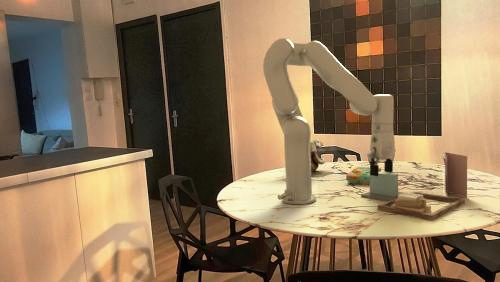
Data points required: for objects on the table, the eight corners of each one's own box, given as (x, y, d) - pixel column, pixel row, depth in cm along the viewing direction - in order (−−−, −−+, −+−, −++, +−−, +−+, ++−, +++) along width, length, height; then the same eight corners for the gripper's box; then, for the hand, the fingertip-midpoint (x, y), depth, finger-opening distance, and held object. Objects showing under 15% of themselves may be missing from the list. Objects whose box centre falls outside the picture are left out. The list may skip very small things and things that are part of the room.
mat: (390, 201, 146) (390, 199, 146) (361, 196, 155) (361, 194, 155) (407, 195, 154) (407, 193, 154) (378, 190, 163) (378, 188, 163)
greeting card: (442, 190, 157) (442, 152, 156) (464, 191, 155) (464, 152, 153) (444, 198, 147) (444, 157, 145) (467, 199, 144) (468, 157, 142)
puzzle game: (346, 173, 177) (355, 165, 195) (346, 184, 178) (355, 175, 196) (374, 174, 172) (381, 166, 190) (374, 185, 173) (381, 176, 191)
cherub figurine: (336, 172, 204) (335, 136, 202) (318, 179, 190) (316, 140, 188) (305, 169, 215) (304, 135, 213) (286, 175, 202) (284, 139, 200)
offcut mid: (420, 209, 129) (420, 203, 129) (395, 206, 134) (395, 200, 134) (426, 204, 134) (426, 198, 134) (401, 201, 139) (401, 196, 139)
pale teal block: (393, 196, 150) (393, 175, 149) (369, 192, 157) (369, 172, 156) (398, 195, 152) (397, 173, 151) (374, 191, 159) (373, 170, 158)
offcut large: (421, 218, 129) (420, 210, 128) (391, 212, 136) (391, 205, 136) (430, 213, 133) (430, 205, 133) (401, 207, 141) (401, 200, 140)
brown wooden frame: (431, 220, 124) (431, 215, 124) (377, 209, 138) (377, 205, 138) (464, 203, 140) (464, 199, 139) (413, 195, 153) (413, 191, 153)
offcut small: (415, 202, 130) (415, 198, 130) (398, 199, 135) (397, 195, 134) (423, 199, 133) (423, 195, 133) (405, 196, 138) (405, 192, 138)
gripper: (378, 130, 143) (377, 178, 145) (403, 127, 155) (402, 171, 157) (360, 129, 149) (359, 175, 151) (385, 126, 160) (384, 169, 162)
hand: (381, 173), depth 154 cm, fingers open, 9 cm apart
